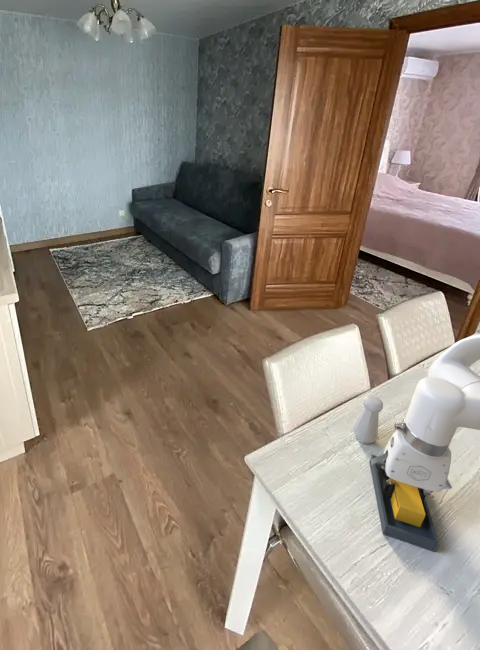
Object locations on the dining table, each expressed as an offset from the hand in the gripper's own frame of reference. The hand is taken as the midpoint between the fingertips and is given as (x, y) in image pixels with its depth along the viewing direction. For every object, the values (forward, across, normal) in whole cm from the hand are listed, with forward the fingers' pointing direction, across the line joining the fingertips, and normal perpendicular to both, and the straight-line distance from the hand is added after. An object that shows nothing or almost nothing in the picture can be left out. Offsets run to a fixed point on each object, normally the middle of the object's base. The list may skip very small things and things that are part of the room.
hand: (401, 495), depth 74 cm
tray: (+2, 0, 0) cm, 2 cm away
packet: (0, 0, 0) cm, 0 cm away
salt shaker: (+2, -5, +15) cm, 16 cm away
